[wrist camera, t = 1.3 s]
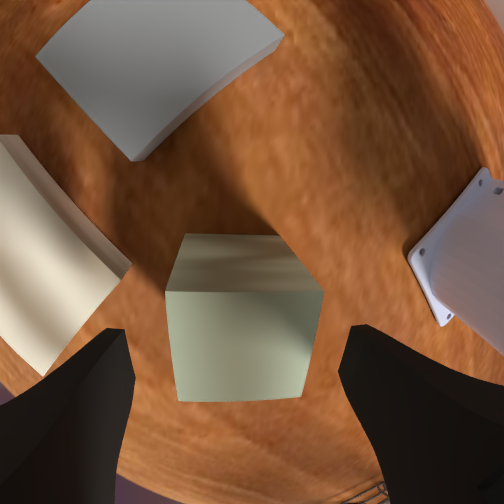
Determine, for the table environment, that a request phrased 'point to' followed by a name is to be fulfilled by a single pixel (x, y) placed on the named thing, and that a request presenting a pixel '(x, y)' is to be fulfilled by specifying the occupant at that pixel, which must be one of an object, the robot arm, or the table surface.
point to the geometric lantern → (374, 496)
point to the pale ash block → (47, 260)
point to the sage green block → (240, 318)
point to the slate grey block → (154, 62)
